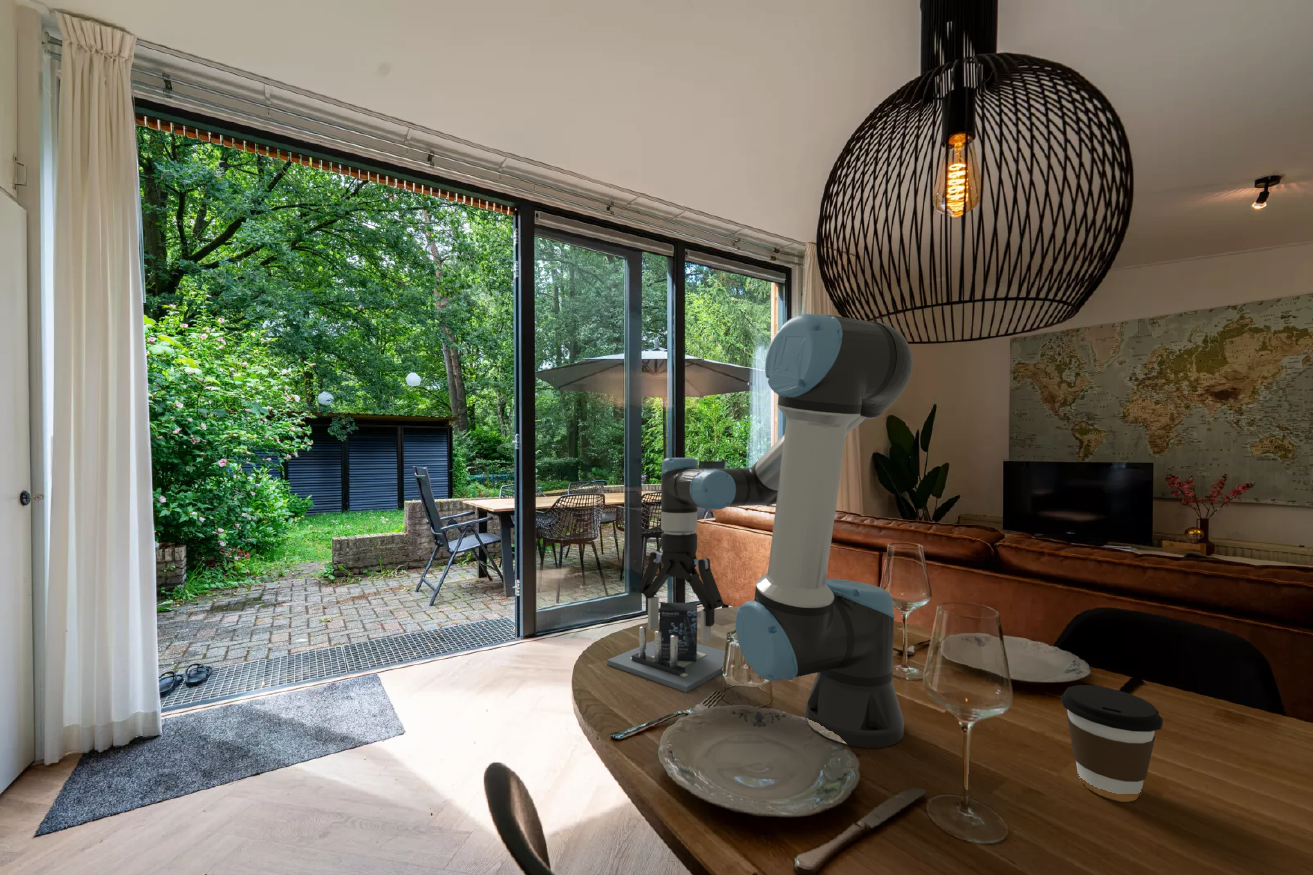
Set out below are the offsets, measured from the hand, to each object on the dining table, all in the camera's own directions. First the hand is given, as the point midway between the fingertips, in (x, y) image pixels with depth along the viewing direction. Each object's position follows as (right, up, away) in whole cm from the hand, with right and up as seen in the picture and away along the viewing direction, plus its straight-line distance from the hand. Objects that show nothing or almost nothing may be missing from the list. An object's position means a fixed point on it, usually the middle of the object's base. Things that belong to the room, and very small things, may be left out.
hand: (678, 634), depth 122 cm
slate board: (-1, -6, 0) cm, 6 cm away
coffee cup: (+57, -7, -42) cm, 71 cm away
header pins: (-4, -5, -5) cm, 8 cm away
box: (0, -5, 0) cm, 5 cm away
